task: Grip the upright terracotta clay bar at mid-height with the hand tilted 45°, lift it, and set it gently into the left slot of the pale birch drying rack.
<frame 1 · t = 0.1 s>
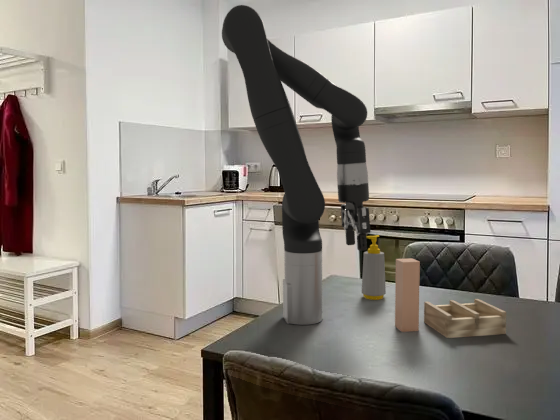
hand: (356, 247, 118), 17 cm above the table, tool pointing down, fingers open, 8 cm apart
clay bar: (406, 328, 110), on the table
soap bottle: (373, 297, 137), on the table
rack: (463, 327, 110), on the table
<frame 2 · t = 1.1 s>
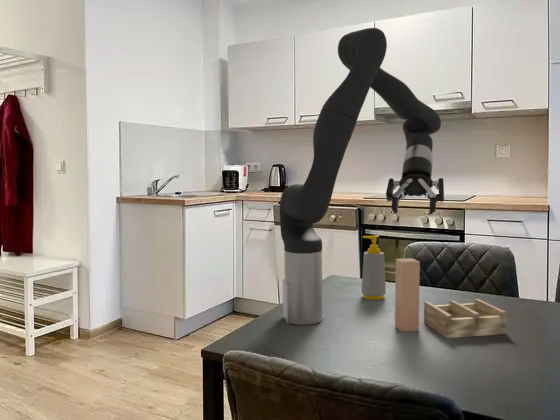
hand: (413, 211, 119), 26 cm above the table, tool tilted 45°, fingers open, 8 cm apart
nothing on the table moved.
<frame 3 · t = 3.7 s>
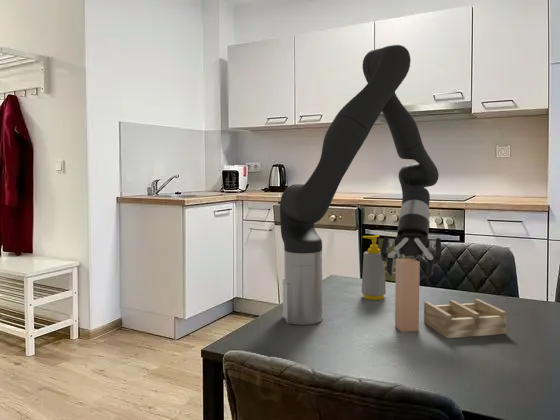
hand: (408, 275, 113), 12 cm above the table, tool tilted 45°, fingers open, 8 cm apart
nothing on the table moved.
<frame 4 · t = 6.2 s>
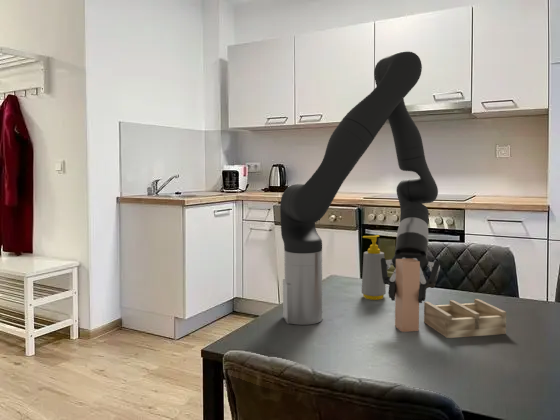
hand: (406, 299, 108), 7 cm above the table, tool tilted 45°, fingers closed on clay bar, 5 cm apart
clay bar: (406, 328, 110), on the table, touching gripper
everything else where it was.
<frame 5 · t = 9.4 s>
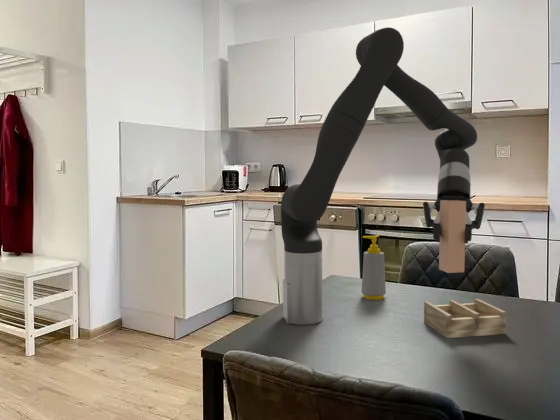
hand: (452, 240, 106), 21 cm above the table, tool tilted 45°, fingers closed on clay bar, 5 cm apart
clay bar: (451, 270, 109), point 14 cm above the table, touching gripper
everything else where it was.
when the fingers open (10 cm above the table, at t = 12.6 s): clay bar drops 1 cm, resting on rack.
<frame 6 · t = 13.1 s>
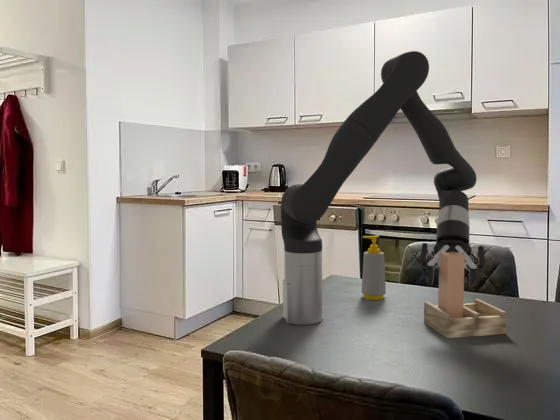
hand: (451, 284, 107), 11 cm above the table, tool tilted 45°, fingers open, 8 cm apart
clay bar: (450, 322, 110), point 1 cm above the table, touching rack
everything else where it was.
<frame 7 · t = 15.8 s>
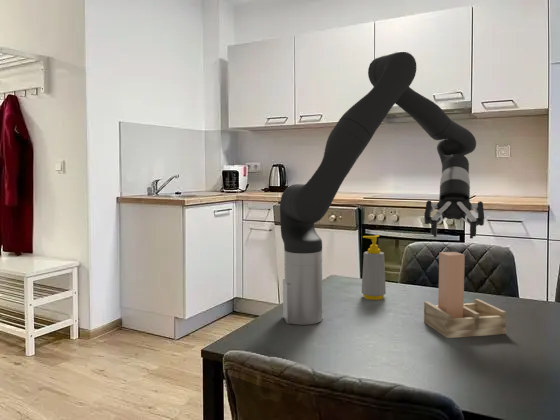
hand: (453, 235, 118), 20 cm above the table, tool tilted 45°, fingers open, 8 cm apart
nothing on the table moved.
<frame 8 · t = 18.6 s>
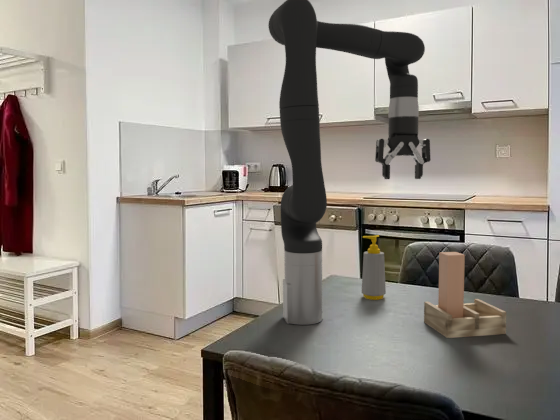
hand: (402, 179, 125), 34 cm above the table, tool pointing down, fingers open, 8 cm apart
nothing on the table moved.
at the end: clay bar 0.1 cm from the target spot on the rack, point 1.5 cm above the rack's base; clay bar tilted 0°; the gripper is holding nothing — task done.
